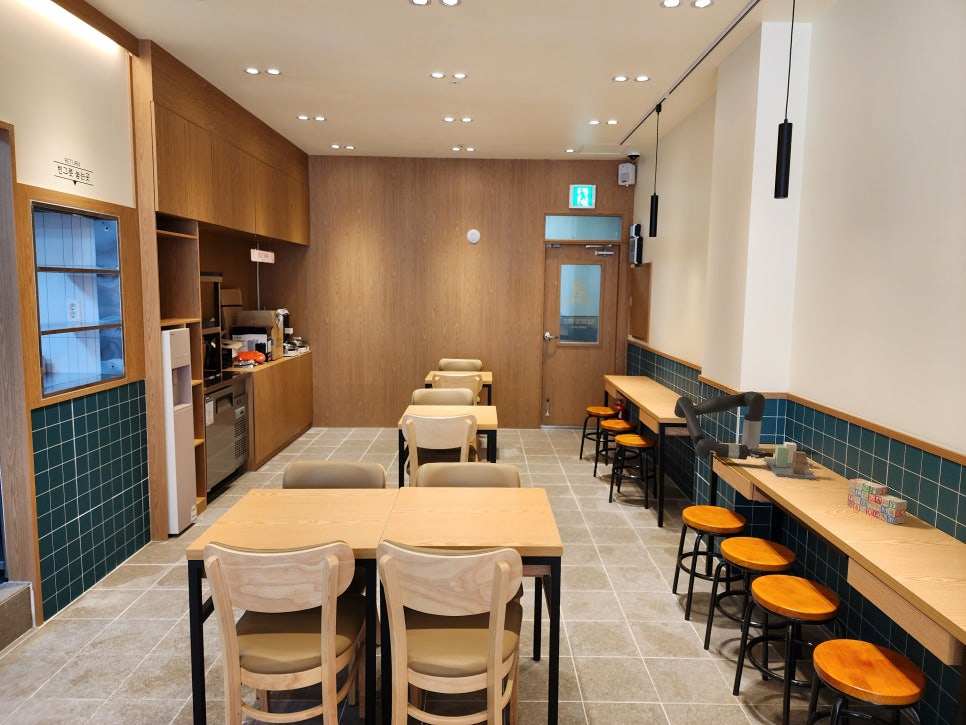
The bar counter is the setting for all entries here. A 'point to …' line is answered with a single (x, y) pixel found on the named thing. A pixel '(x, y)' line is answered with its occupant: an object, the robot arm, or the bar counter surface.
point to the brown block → (799, 462)
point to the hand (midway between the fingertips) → (773, 455)
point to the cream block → (790, 450)
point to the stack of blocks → (876, 501)
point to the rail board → (788, 471)
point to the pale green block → (781, 456)
